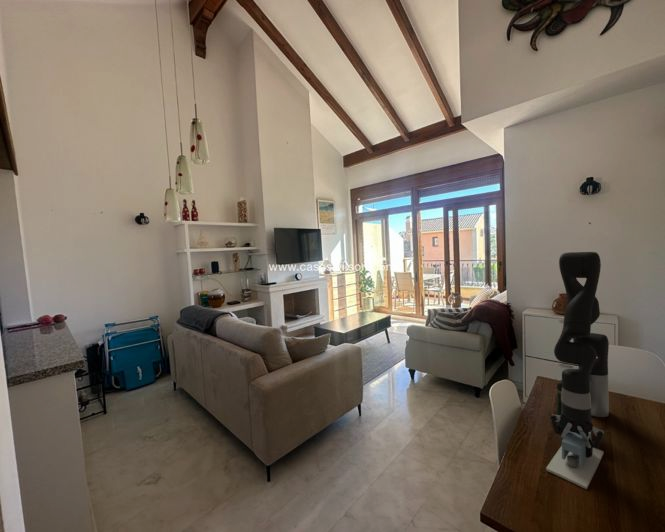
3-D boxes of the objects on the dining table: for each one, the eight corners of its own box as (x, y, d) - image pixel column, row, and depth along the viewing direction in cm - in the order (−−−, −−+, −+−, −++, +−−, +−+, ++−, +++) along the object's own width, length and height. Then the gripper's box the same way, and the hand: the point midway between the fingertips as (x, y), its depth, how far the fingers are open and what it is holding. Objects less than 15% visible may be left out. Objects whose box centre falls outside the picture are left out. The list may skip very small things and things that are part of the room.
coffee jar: (578, 437, 109) (577, 388, 108) (553, 426, 115) (552, 380, 114) (589, 427, 113) (588, 380, 112) (564, 418, 120) (564, 373, 119)
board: (566, 439, 107) (566, 431, 107) (603, 453, 100) (603, 444, 99) (546, 470, 94) (545, 460, 94) (586, 489, 86) (586, 478, 86)
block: (572, 442, 103) (572, 425, 103) (591, 449, 99) (591, 432, 99) (562, 458, 96) (561, 441, 96) (581, 467, 92) (581, 448, 92)
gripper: (607, 406, 93) (608, 458, 94) (553, 391, 105) (554, 437, 106) (602, 415, 89) (603, 469, 90) (546, 398, 100) (547, 446, 101)
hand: (576, 452), depth 98 cm, fingers closed on block, 5 cm apart
